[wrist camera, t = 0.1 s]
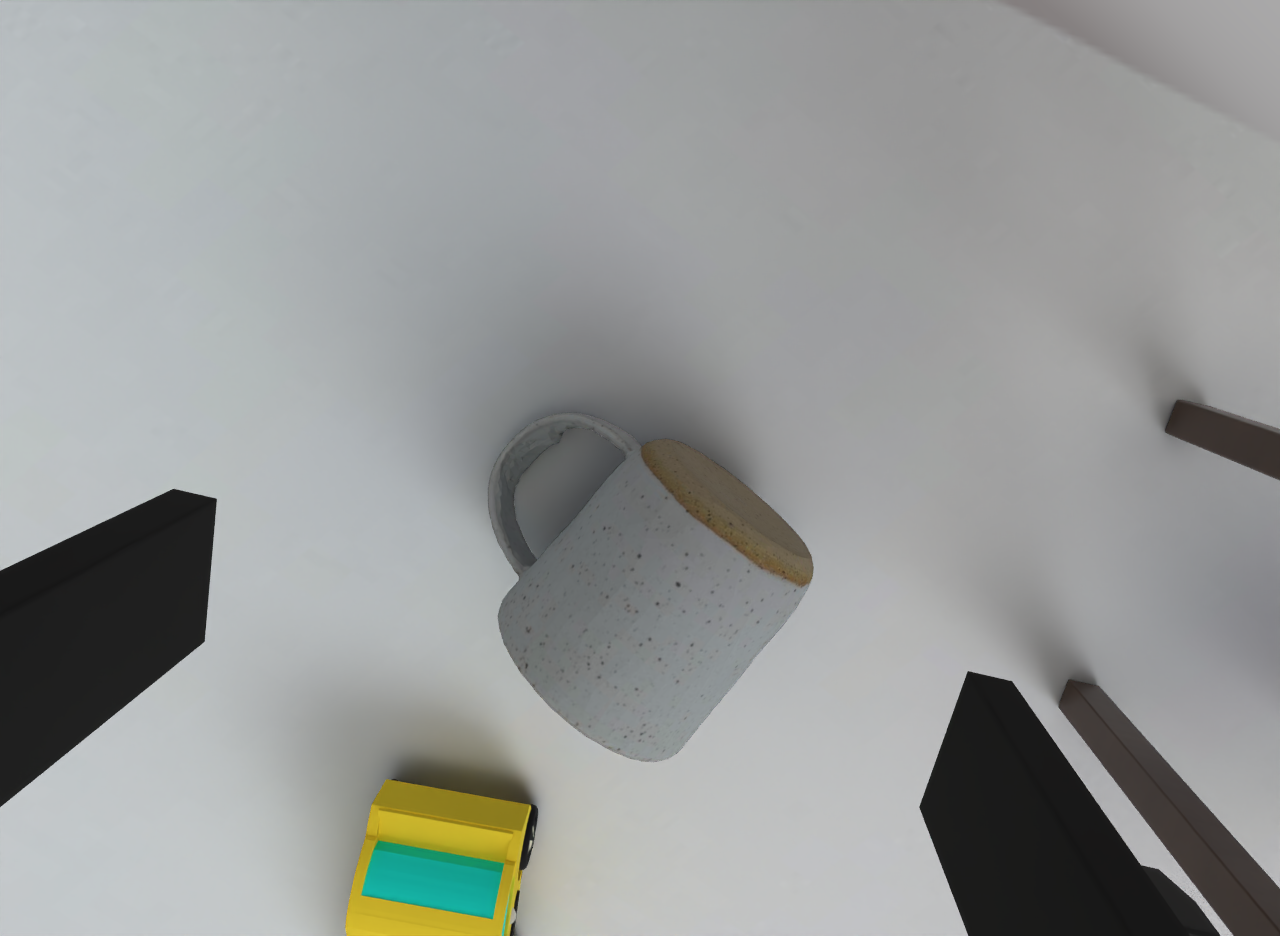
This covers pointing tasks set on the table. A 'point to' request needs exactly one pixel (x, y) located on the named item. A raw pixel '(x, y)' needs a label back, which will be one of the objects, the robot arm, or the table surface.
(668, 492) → the ceramic mug
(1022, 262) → the table surface
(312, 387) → the table surface
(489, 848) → the toy car
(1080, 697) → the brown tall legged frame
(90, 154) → the table surface
